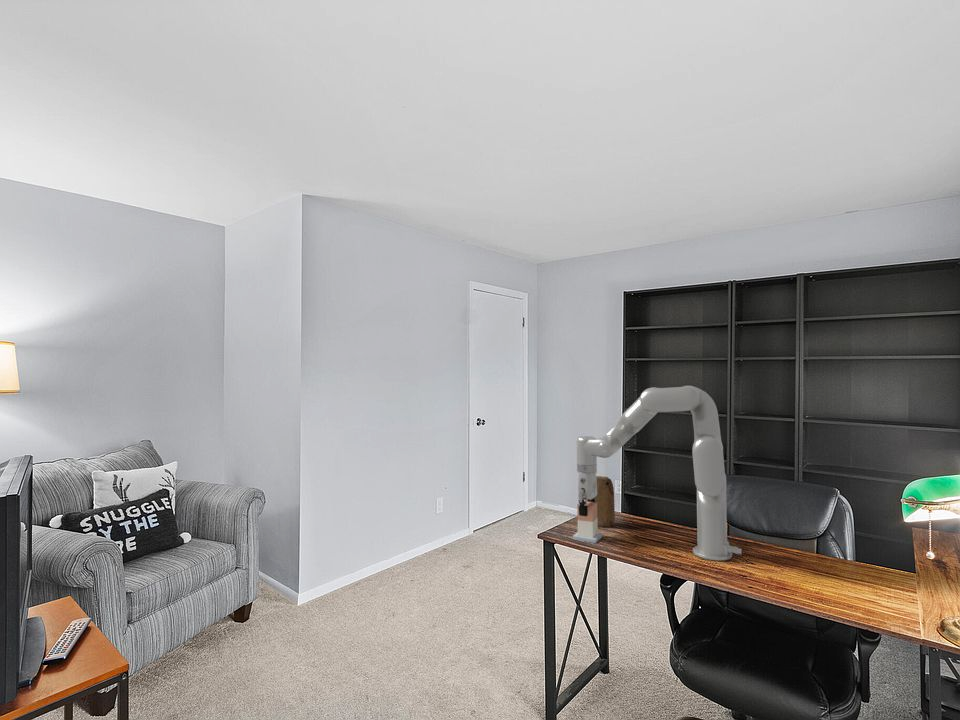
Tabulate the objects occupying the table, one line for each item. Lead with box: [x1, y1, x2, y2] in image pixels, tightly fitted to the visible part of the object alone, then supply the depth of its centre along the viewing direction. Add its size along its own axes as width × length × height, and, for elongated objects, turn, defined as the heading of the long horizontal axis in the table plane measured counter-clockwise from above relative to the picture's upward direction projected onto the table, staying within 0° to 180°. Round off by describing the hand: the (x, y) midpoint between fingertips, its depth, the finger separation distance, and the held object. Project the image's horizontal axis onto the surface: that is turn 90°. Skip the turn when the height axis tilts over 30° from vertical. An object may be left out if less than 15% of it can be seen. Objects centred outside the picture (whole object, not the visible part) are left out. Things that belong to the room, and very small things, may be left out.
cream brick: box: [577, 518, 599, 538], centre depth 200 cm, size 6×6×6 cm
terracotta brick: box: [576, 500, 597, 522], centre depth 200 cm, size 6×6×6 cm
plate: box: [572, 531, 603, 544], centre depth 200 cm, size 9×9×1 cm
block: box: [595, 475, 616, 528], centre depth 217 cm, size 11×8×20 cm
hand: (587, 512), depth 200 cm, fingers open, 9 cm apart
